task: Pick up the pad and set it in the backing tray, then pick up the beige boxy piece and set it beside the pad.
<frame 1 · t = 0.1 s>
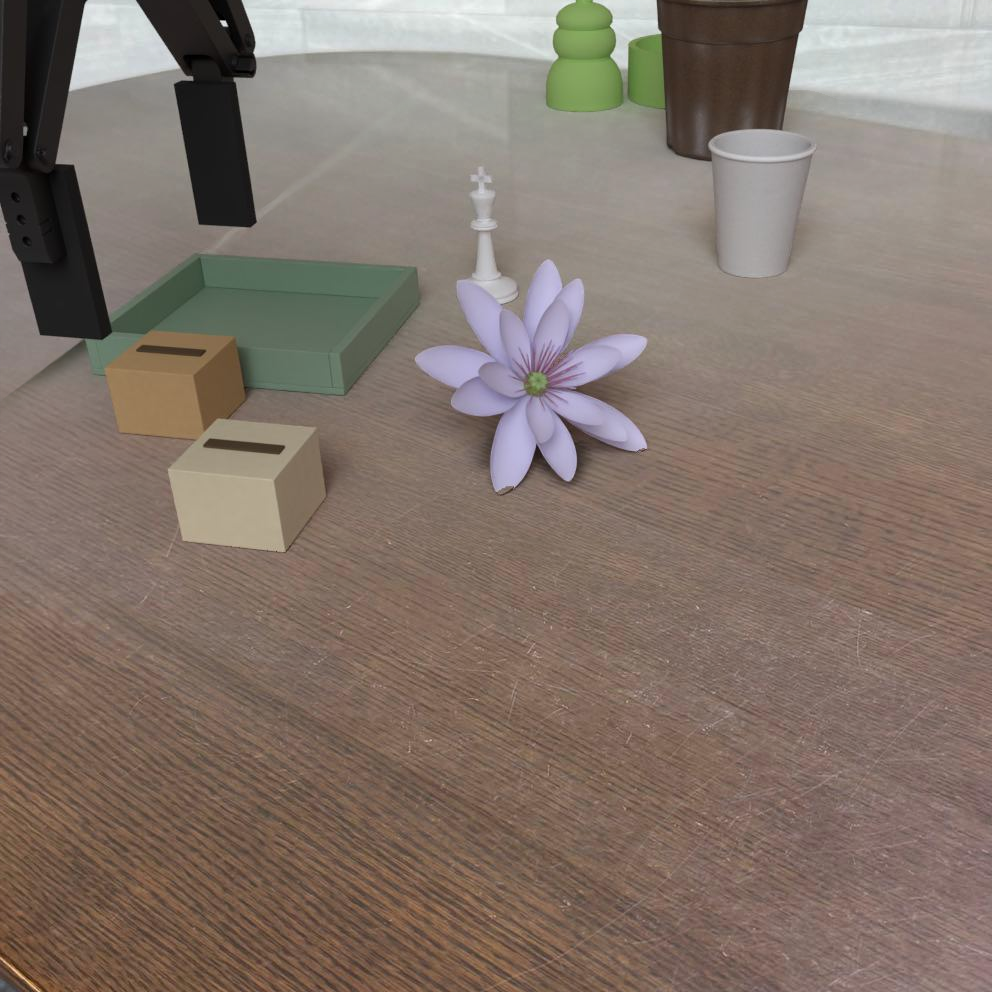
hand: (160, 274, 53), 17 cm above the table, tool pointing down, fingers open, 13 cm apart
beige boxy piece: (256, 518, 67), on the table
water lily: (540, 458, 73), on the table
plant pot: (722, 149, 130), on the table
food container: (645, 99, 150), on the table
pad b: (184, 415, 78), on the table
backing tray: (265, 337, 89), on the table
dixie cup: (752, 267, 99), on the table
chess piece: (487, 296, 95), on the table
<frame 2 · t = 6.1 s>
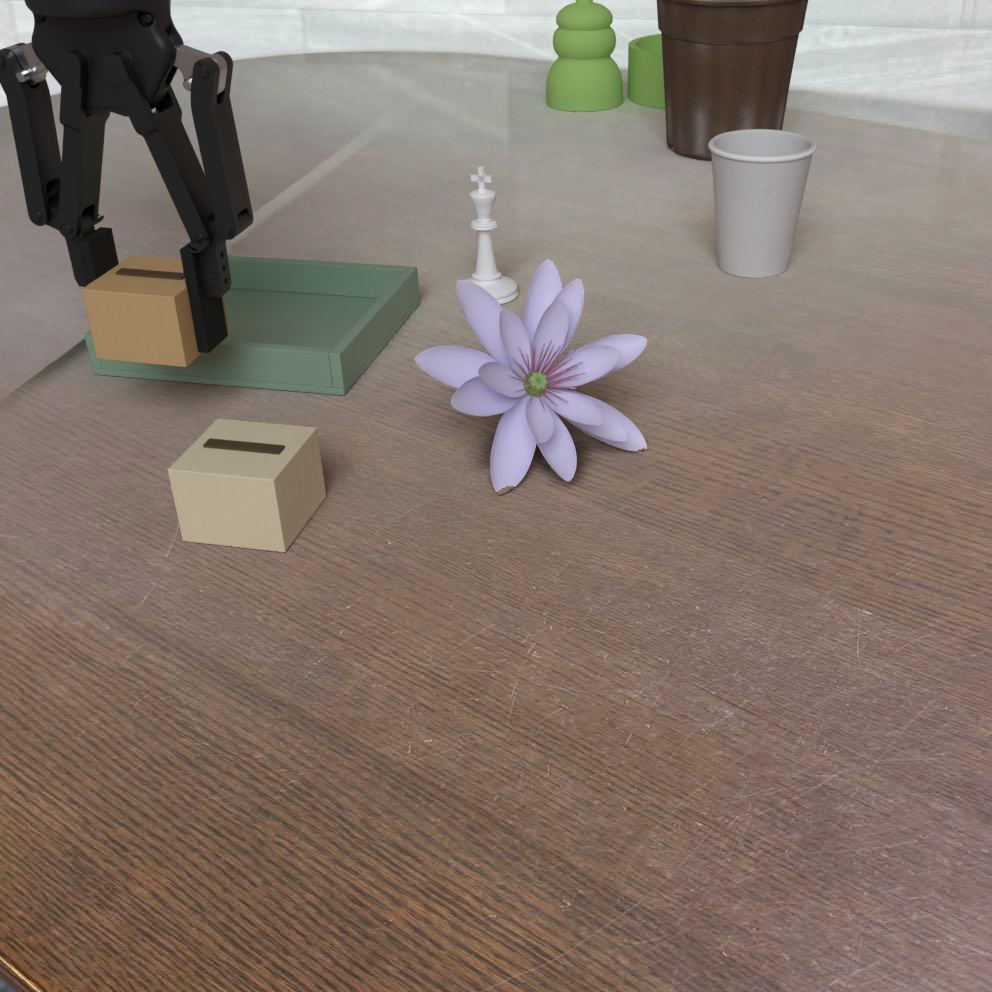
hand: (164, 338, 75), 5 cm above the table, tool pointing down, fingers closed on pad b, 6 cm apart
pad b: (164, 343, 76), point 5 cm above the table, touching gripper
everything else where it was.
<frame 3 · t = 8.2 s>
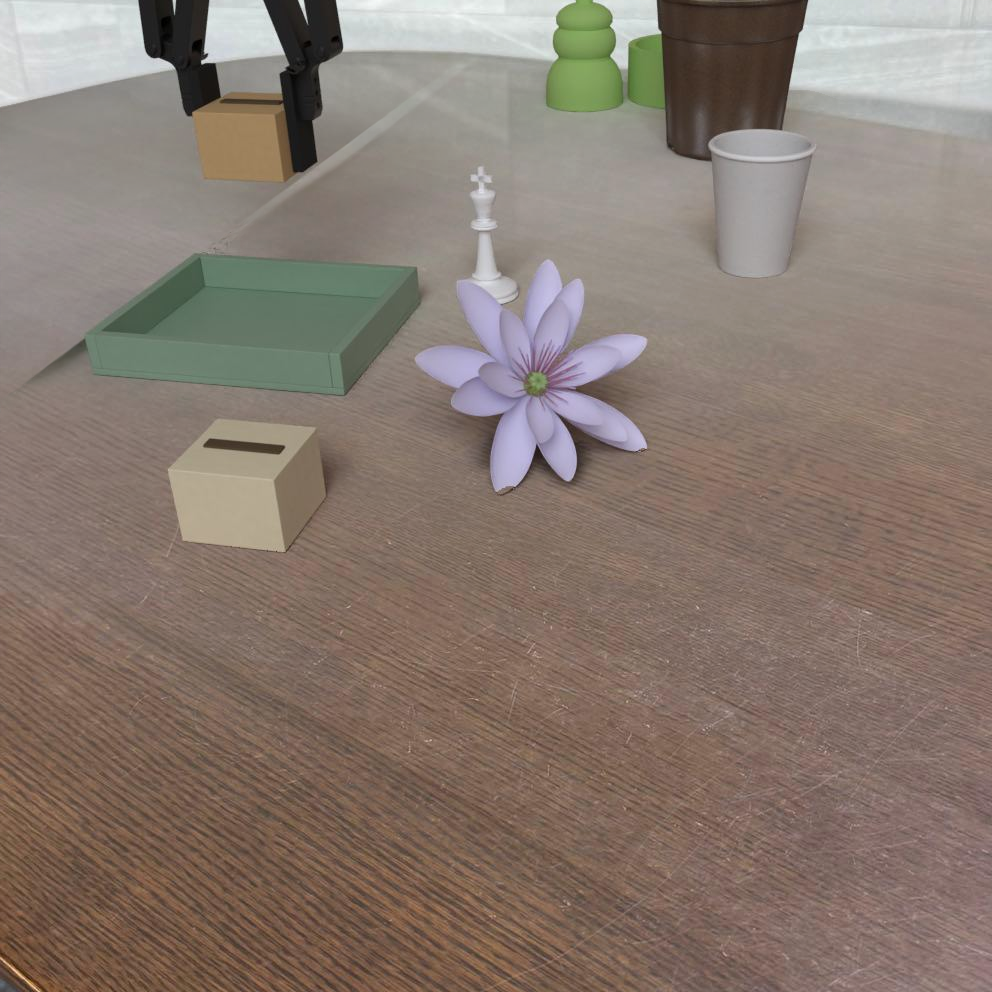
hand: (261, 164, 85), 12 cm above the table, tool pointing down, fingers closed on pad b, 6 cm apart
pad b: (261, 168, 85), point 11 cm above the table, touching gripper
everything else where it was.
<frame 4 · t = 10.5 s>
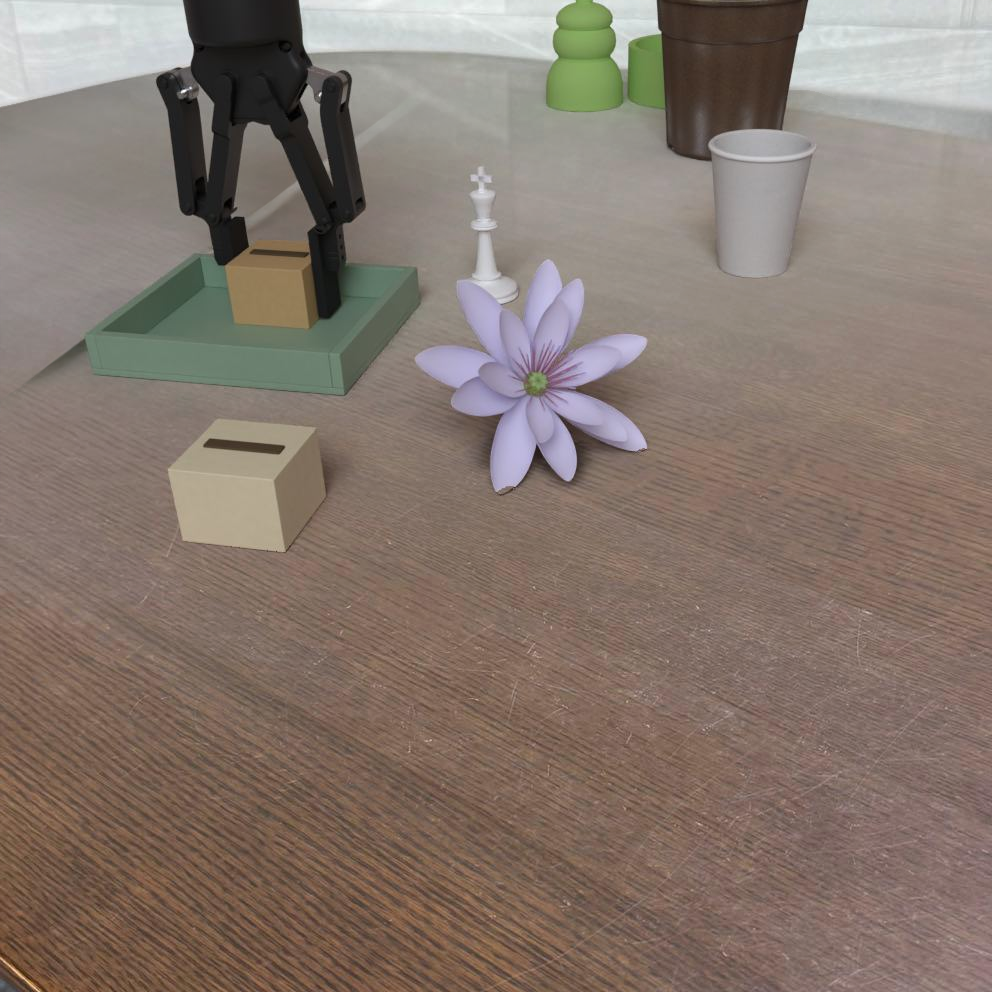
hand: (287, 307, 91), 1 cm above the table, tool pointing down, fingers closed on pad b, 6 cm apart
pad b: (287, 311, 92), resting on backing tray, touching gripper
everything else where it was.
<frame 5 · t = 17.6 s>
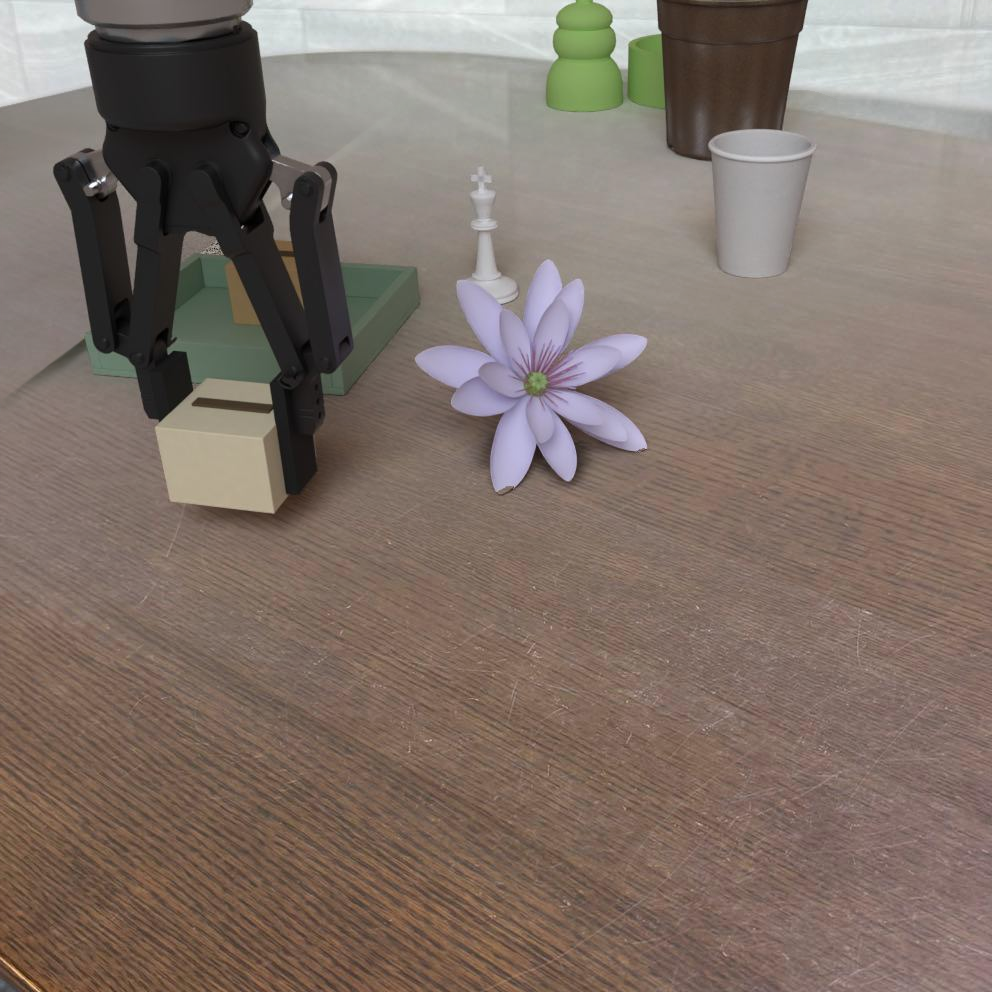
hand: (244, 475, 66), 3 cm above the table, tool pointing down, fingers closed on beige boxy piece, 6 cm apart
beige boxy piece: (245, 480, 66), point 2 cm above the table, touching gripper
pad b: (287, 311, 92), resting on backing tray
everything else where it was.
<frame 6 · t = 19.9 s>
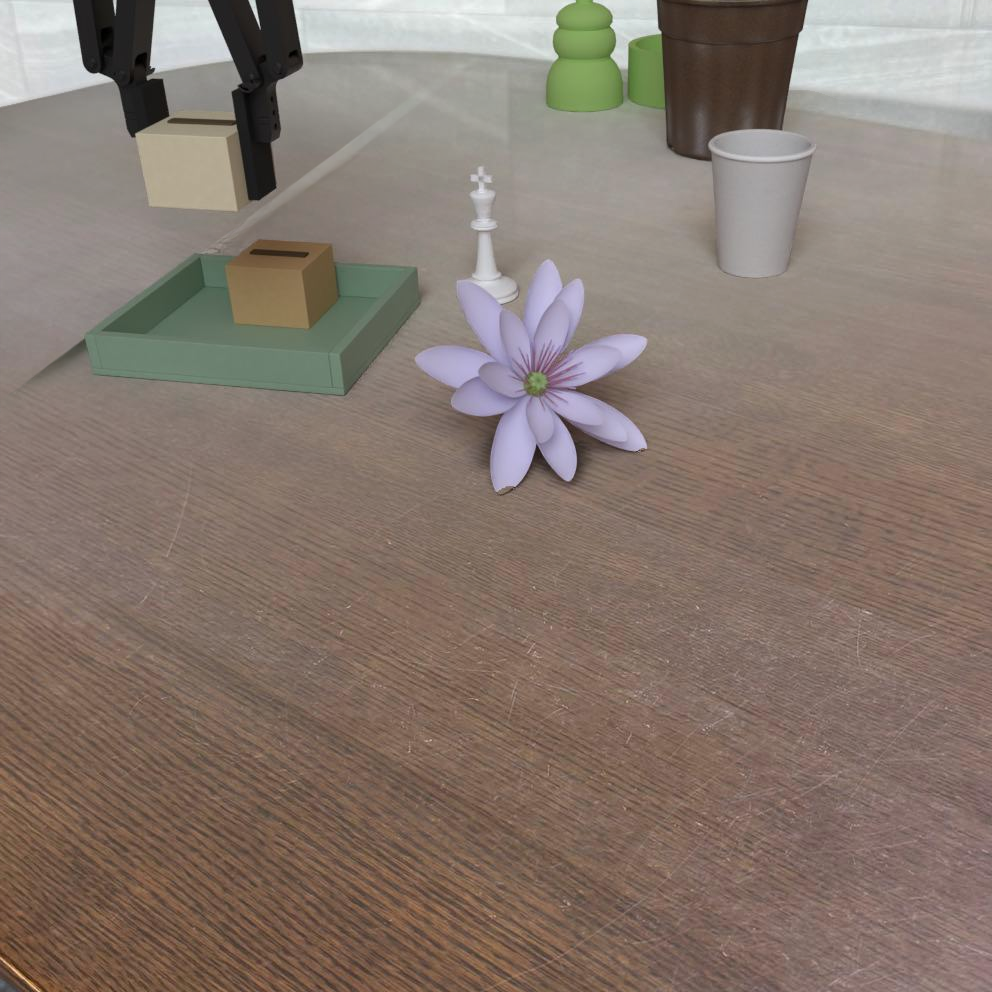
hand: (214, 190, 77), 13 cm above the table, tool pointing down, fingers closed on beige boxy piece, 6 cm apart
beige boxy piece: (214, 195, 77), point 12 cm above the table, touching gripper
everything else where it was.
when the fingers open (1 cm above the table, at t = 22.5 s): beige boxy piece stays where it is, resting on backing tray.
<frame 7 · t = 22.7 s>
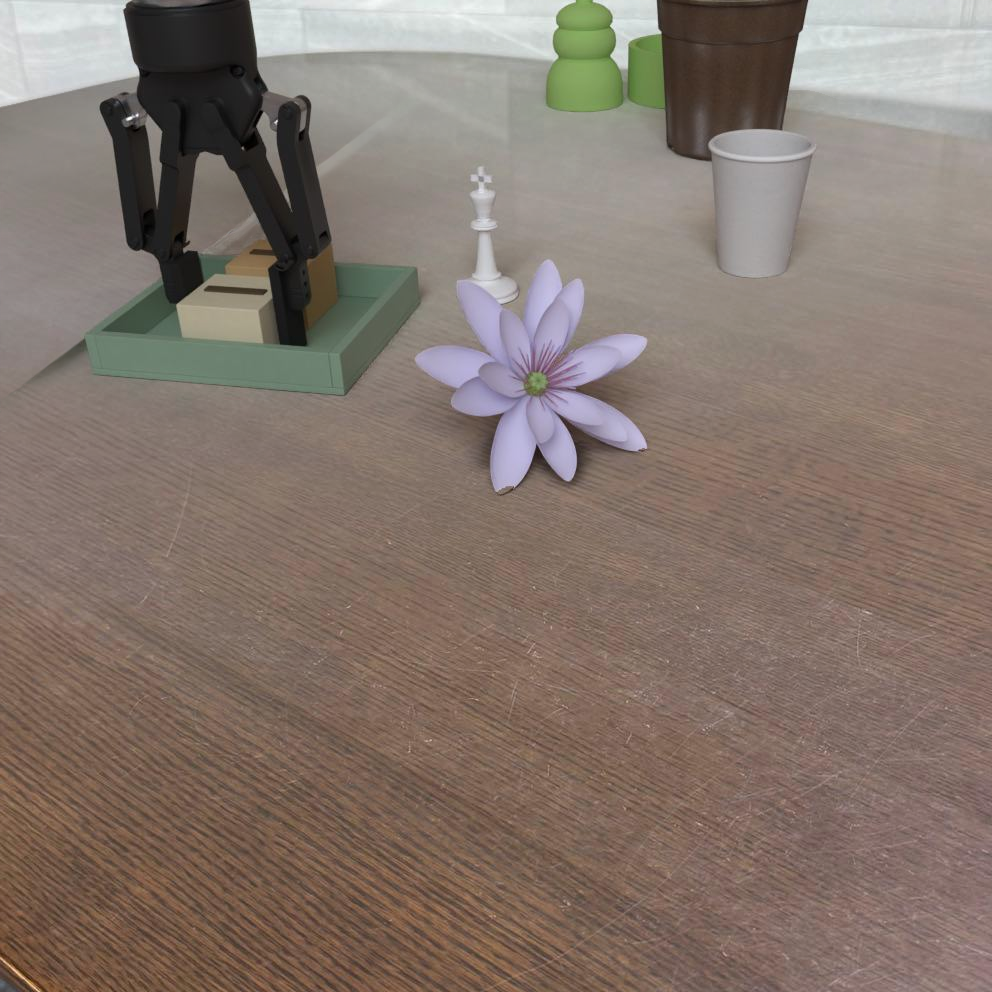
hand: (247, 347, 85), 1 cm above the table, tool pointing down, fingers open, 6 cm apart
beige boxy piece: (245, 351, 85), resting on backing tray
everything else where it was.
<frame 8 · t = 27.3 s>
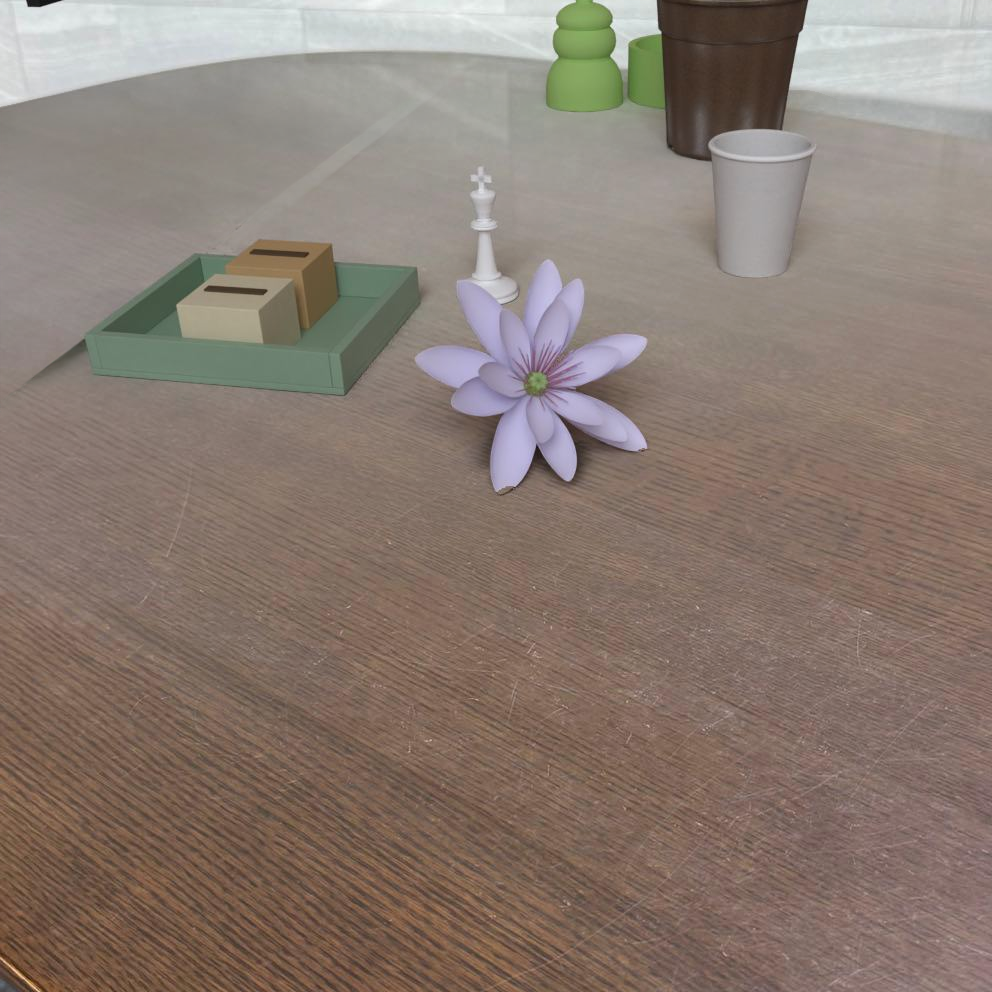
nothing on the table moved.
at the end: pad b 0.2 cm from the target spot in the backing tray, point 0.5 cm above the backing tray's base; beige boxy piece 0.2 cm from the target spot in the backing tray, point 0.5 cm above the backing tray's base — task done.
